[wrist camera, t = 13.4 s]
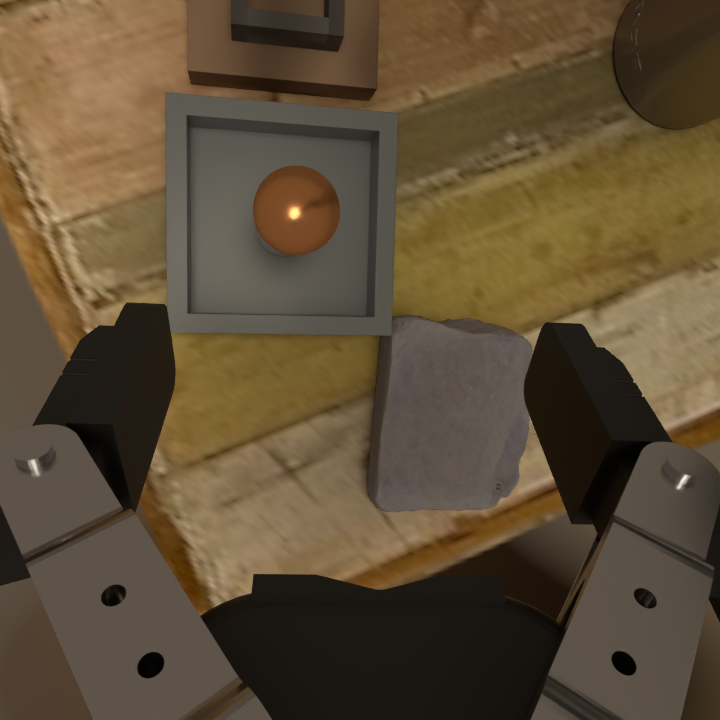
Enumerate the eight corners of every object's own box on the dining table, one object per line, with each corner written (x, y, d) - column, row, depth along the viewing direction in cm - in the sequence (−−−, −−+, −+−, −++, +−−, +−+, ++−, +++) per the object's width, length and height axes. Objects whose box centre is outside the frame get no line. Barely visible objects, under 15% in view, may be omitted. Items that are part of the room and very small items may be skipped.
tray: (385, 128, 35) (398, 113, 32) (379, 332, 36) (391, 335, 33) (172, 110, 32) (165, 92, 30) (173, 329, 34) (167, 332, 31)
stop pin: (315, 198, 34) (341, 168, 25) (313, 263, 34) (338, 256, 25) (250, 194, 33) (253, 161, 24) (249, 259, 33) (252, 251, 24)
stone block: (504, 318, 40) (367, 309, 36) (552, 325, 35) (403, 316, 31) (484, 489, 41) (351, 498, 37) (529, 516, 37) (383, 530, 33)
